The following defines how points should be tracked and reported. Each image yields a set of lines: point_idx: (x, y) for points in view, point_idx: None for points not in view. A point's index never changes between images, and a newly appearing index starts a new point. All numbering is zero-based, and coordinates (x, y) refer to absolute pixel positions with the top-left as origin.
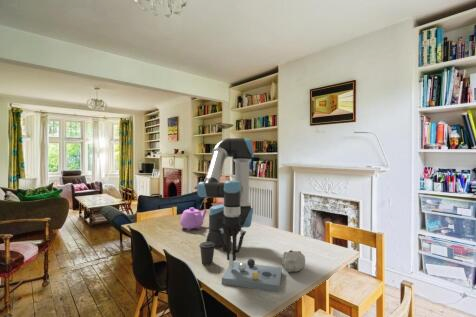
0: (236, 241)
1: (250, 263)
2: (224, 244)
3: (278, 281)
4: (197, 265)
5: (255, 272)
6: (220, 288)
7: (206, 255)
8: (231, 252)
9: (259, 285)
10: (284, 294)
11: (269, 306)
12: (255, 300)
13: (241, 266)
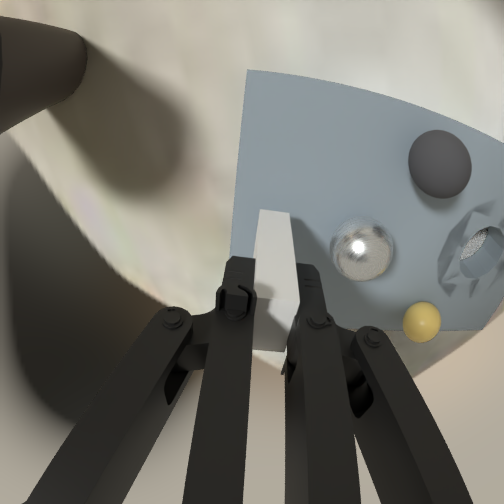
0: (355, 450)
1: (434, 196)
2: (161, 427)
3: (495, 305)
4: (23, 124)
5: (426, 340)
6: None
7: (15, 124)
8: (266, 316)
9: None
10: None
11: (409, 373)
12: None
13: (357, 280)
